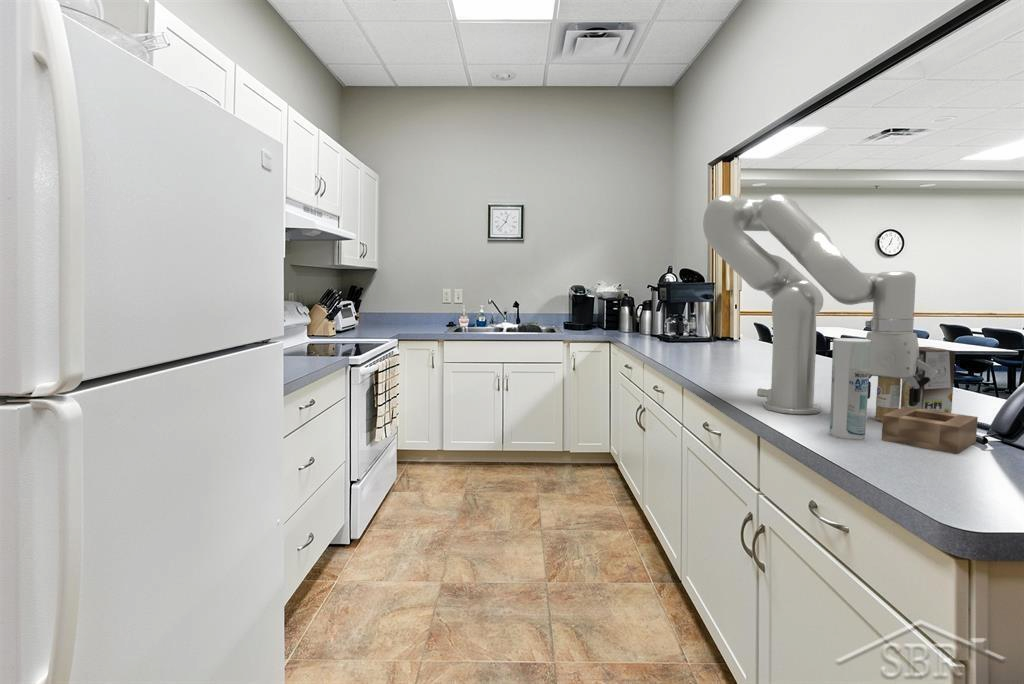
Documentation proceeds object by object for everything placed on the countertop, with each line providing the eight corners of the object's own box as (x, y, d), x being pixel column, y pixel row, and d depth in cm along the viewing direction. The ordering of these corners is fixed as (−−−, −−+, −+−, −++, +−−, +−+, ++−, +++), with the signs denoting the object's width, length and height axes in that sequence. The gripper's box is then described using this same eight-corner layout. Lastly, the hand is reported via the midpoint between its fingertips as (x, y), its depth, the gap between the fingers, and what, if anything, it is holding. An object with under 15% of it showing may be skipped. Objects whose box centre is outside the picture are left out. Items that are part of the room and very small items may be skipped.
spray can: (841, 429, 114) (845, 337, 112) (872, 436, 108) (878, 339, 106) (822, 433, 111) (826, 339, 109) (853, 441, 105) (858, 341, 103)
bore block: (881, 439, 106) (882, 415, 105) (903, 429, 113) (904, 406, 112) (957, 454, 96) (959, 427, 96) (975, 441, 103) (977, 416, 103)
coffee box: (952, 421, 119) (957, 350, 117) (921, 420, 120) (926, 350, 118) (926, 411, 128) (931, 346, 126) (898, 411, 129) (902, 346, 127)
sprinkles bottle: (869, 418, 122) (872, 361, 121) (887, 417, 123) (891, 360, 122) (885, 423, 118) (889, 364, 117) (904, 422, 118) (907, 363, 117)
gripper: (842, 326, 123) (839, 398, 125) (934, 329, 109) (930, 411, 111) (856, 324, 127) (853, 394, 129) (946, 327, 113) (941, 405, 115)
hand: (888, 402), depth 120 cm, fingers open, 8 cm apart
